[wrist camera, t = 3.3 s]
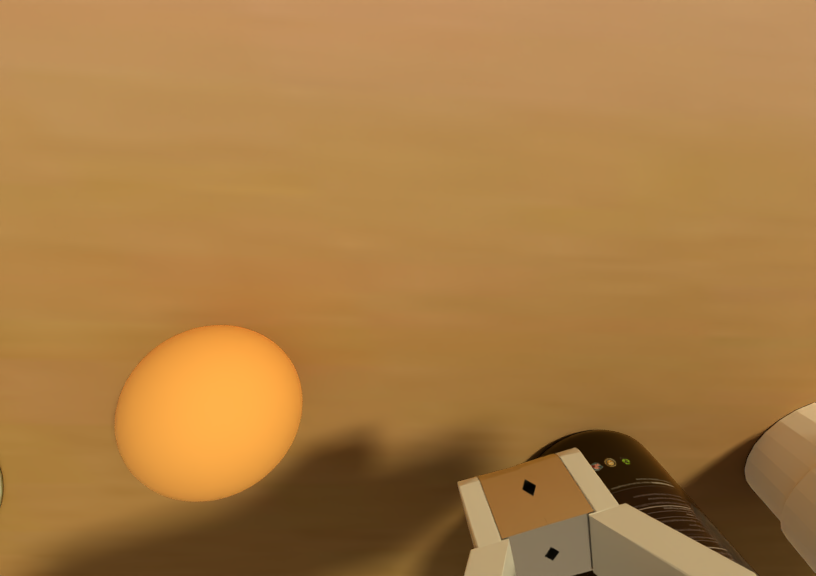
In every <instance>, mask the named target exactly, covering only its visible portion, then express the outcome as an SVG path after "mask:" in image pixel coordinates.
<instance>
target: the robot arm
mask: <svg viewBox="0 0 816 576" xmlns="http://www.w3.org/2000/svg"><path fill="white" fill-rule="evenodd" d="M457 485H458V489H459V493H460V497H461V501H462V505H463V509H464V513H465V517H466V520H467V524H468V528H469V532H470V536H471V539H472V542H473V546H474V549H471V550H470V554H469V558H468V562H467V565H466V569H465V573H464V576H573V575H577V574H581V573H584V572H588V571H592V570H593V573H595V574H596V575H597V576H757V575H756V574H755V573H754V572H752V571H750V570H748V569H746V568H745V567H743V566H741V565H739V564H737V563H735V562H733V561H732V560H730V559H728V558H726V557H724V556H722V555H721V554H719V553H717V552H715V551H713V550H711V549H709V548H708V547H706V546H704V545H702V544H700V543H698V542H696V541H695V540H693V539H691V538H689V537H687V536H685V535H684V534H682V533H680V532H678V531H676V530H674V529H672V528H671V527H669V526H667V525H665V524H663V523H661V522H660V521H658V520H656V519H654V518H652V517H650V516H648V515H647V514H645V513H643V512H641V511H639V510H637V509H635V508H634V507H632V506H630V505H628V504H626V503H624V504H621V505H619V504H618V502H617V501H616V500H615V498H614V497H613V496H612V494H611V493H610V491H609V490H608V489H607V487H606V486H605V485H604V483H603V482H602V480H601V479H600V478H599V476H598V475H597V474H596V472H595V471H594V470H593V468H592V467H591V465H590V464H589V463H588V461H587V460H586V459H585V457H584V456H583V454H582V453H581V452H580V450H578V449H577V448H572V449H568V450H565V451H562V452H558V453H555V454H554V453H553V454H550V455H547V456H544V457H540V458H537V459H534V460H531V461H528V462H524V463H521V464H518V465H516V466H514V467H510V468H506V469H502V470H498V471H495V472H491V473H487V474H483V475H479V476H478V477H477V476H476V477H473V478H469V479H465V480H462V481H458V482H457Z"/></svg>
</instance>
